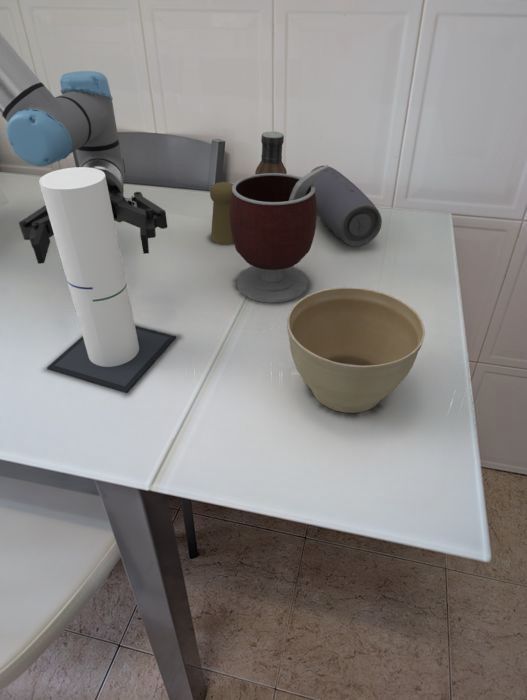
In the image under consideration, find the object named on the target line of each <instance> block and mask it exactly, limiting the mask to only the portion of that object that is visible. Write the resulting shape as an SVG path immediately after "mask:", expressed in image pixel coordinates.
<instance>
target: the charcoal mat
mask: <svg viewBox="0 0 527 700" xmlns="http://www.w3.org/2000/svg"><path fill="white" fill-rule="evenodd" d="M135 328H136V333H137V338H138V343H139V351H138V353H137V355H136V356H135V357H134V358H133V359H132V360H130V361H129V362H127V363H124V364H122V365H118V366H113V367H103V366H99V365H96V364H94V363H93V362H91V361H90V359H89V357H88V353H87V350H86V346H85V342H84V339H83V335H82V336H81V337H79V339H78V340H76V341H75V342H74V343H73V344H72V345H71V346H70V347H68V348H67V349H66V350H65V351H64V352H62V354H60V356H58V357H57V358H56V359H55V360H54V361H53V362H51V363H50V364H49V365H48V366H46V368H47V370H50V371H53V372H56V373H59V374H64V375H66V376H69V377H73V378H76V379H79V380H82V381H86V382H89V383H93V384H96V385H100V386H103V387H106V388H109V389H112V390H115V391H119V392H123V393H126V394H127V393H128V392H130V390H131V389H132V388H133V387H134V386H135V384H137V382H138V381H139V380H140V379H141V378H142V377H143V375H145V373H146V372H147V371H148V370H149V369H150V368H151V367H152V365H153V364H154V363H155V362H156V361H157V360H158V359H159V358H160V356H161V355H163V353H164V352H165V351H166V350H167V349H168V348H169V346H170V345H171V344H172V343H173V342H174V341H175V340H176V338H177V336H176V335H172V334H169V333H164V332H160V331H157V330H154V329H150V328H145V327H141V326H137V325H135Z"/></svg>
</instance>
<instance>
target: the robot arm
mask: <svg viewBox="0 0 527 700" xmlns="http://www.w3.org/2000/svg"><path fill="white" fill-rule="evenodd" d="M59 82H60V83H59V84H60V93H61V94H60V95H57V96H56V97H55V96H54V95H53V93H52V92H51V91H50V90H49V88H47V87H46V85H45V84H44V83H43V82H42V81H41V79H40V78H39V77H38V76H37V75H36V73H34V70H32V69H31V68H30V66H29V65H28V64H27V63H26V62H25V60H24V59H23V58H22V57H21V56H20V54H19V53H18V52H17V51H16V49H14V47H13V46H12V45H11V44H10V42H9V41H8V40H7V39H6V37H5V36H4V35H3V34H2V33H1V32H0V115H1V117H3V119H4V120H5V121H6V122H7V124H6V137H7V141H9V143H10V146H11V149H12V151H13V152H14V154H16V156H17V157H18V158H20V160H21V161H23V162H25V163H27V164H29V165H32V166H34V167H47V166H50V165H53V164H55V163H57V162H60V161H62V160H65V159H67V157H69V156H70V155H71V154H72V153H73V152H75V153H76V158H77V163H78V167H88V168H95V169H99V170H101V171H103V172H104V173H105V177H106V182H107V187H108V192H109V197H110V202H111V207H112V212H113V217H114V222H117V223H120V224H121V223H122V222H124V223H127V224H129V225H132V226H134V227H137V228H138V229H139V236H140V242H141V248H142V254H143V255H147V254H148V255H149V254H150V248H149V246H150V245H149V239H155V238H156V237H157V232H156V228H159V229H161V230H162V229H167V228H168V219H167V213H166V210H165V209H163V208H162V207H160V206H158V205H157V204H155V203H154V202H152V201H151V200H149V199H148V198H146V197H144V196H143V193H142V192H141V191H135V192H133V195H131V197H125V196H124V191H125V183H124V182H125V181H124V180H125V173H126V166H125V160H124V158H123V156H122V151H121V144H120V141H119V135H118V129H117V122H116V115H115V110H114V104H113V99H114V98H113V96H112V93H111V90H110V84H109V81H108V78H107V76H106V75H105V74H103V73H102V72H99V71H95V70H79V71H70V72H67V73H64V74H62V75H61V77H60V80H59ZM18 226H19V229H20V231H21V234H22V237H23V240H24V241H29V242H30V246H31V248H32V249H33V252H34V255H35V258H36V261H37V264H38V265H40V264H45V262H46V258H47V254H48V251H49V247H50V244H51V239H50V238H51V237H53V236H54V233H53V229H52V226H51V222H50V219H49V215H48V212H47V208H46V205H45V204H44V205H43V206H42V207H40V208H39V209H37V210H36V211H34V212H33V213H31V214H30V215H27V217H24V218H23V219H21V220H20V221H18Z"/></svg>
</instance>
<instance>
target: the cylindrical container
mask: <svg viewBox="0 0 527 700" xmlns="http://www.w3.org/2000/svg"><path fill="white" fill-rule="evenodd" d="M38 183H39V187H40V190H41V194H42V197H43V200H44V206H45V205H46V208H47V212H48V215H49V219H50V222H51V226H52V229H53V233H54V235H53V236H54V240H55V244H56V247H57V251H58V253H59V257H60V261H61V264H62V268H63V272H64V275H65V279H66V283H67V286H68V290H69V292H70V293H69V294H70V297H71V300H72V303H73V306H74V310H75V314H76V318H77V320H78V324H79V328H80V332H81V335H82V336H83V339H84V342H85V346H86V350H87V353H88V357H89V359H90V361H91V362H93V363H94V364H96V365H99V366H103V367H113V366H118V365H122V364H124V363H127V362H129V361H130V360H132V359H133V358H134V357H135V356H136V355H137V353H138V351H139V343H138V338H137V333H136V328H135V326H136V324H135V318H134V315H133V308H132V304H131V298H130V294H129V289H128V284H127V279H126V273H125V269H124V268H125V267H124V264H123V258H122V254H121V248H120V243H119V238H118V233H117V228H116V221H114V217H113V212H112V207H111V202H110V197H109V192H108V187H107V182H106V177H105V173H104V172H103V171H101V170H99V169H95V168H88V167H79V166H78V167H75V166H74V167H66V168H61V169H57V170H53V171H50V172H48V173H45V174H44V175H42V176H41V177H40V178H39V179H38Z"/></svg>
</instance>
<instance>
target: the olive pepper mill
mask: <svg viewBox="0 0 527 700" xmlns="http://www.w3.org/2000/svg"><path fill="white" fill-rule="evenodd" d="M233 184H234V183H231V182H228V181H220V182H215V183H214V184H212V186H211V187H210V190H209V196H210V199H211V201H212V216H211V217H212V218H211V229H210V231H211V233H210V240H211V241H212V242H213V243H215V244H218V245H219V244H220V245H231V244H234V243H233V239H232V234H231V229H230V201H231V194H232V186H233Z"/></svg>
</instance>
